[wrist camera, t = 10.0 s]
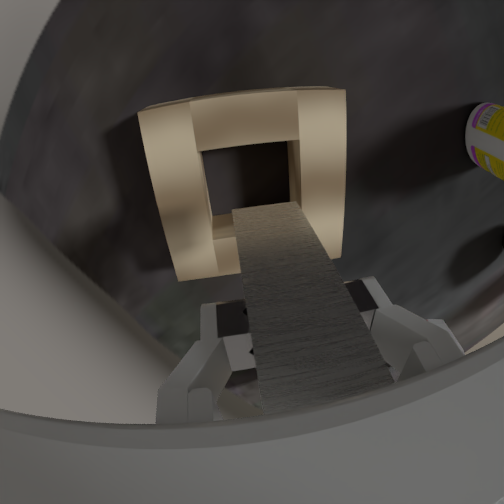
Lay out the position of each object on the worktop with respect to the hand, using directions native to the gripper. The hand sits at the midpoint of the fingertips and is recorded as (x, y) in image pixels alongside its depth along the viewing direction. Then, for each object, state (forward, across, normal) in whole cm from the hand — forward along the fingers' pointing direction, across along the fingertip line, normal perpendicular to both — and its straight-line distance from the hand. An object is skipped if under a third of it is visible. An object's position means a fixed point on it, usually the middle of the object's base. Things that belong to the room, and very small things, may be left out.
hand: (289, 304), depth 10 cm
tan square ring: (+13, 0, 0) cm, 13 cm away
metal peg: (+5, 0, 0) cm, 5 cm away
